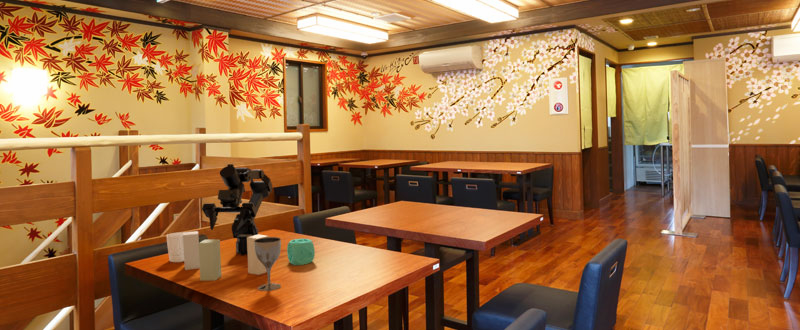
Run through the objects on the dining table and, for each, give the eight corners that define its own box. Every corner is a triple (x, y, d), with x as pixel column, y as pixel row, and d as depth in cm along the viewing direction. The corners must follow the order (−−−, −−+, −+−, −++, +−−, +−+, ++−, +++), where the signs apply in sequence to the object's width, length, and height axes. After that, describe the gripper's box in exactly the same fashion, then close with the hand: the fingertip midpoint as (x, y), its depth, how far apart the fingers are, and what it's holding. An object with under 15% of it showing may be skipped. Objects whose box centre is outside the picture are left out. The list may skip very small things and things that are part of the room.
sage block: (206, 275, 169) (205, 239, 168) (221, 275, 169) (219, 239, 168) (200, 280, 164) (198, 243, 163) (215, 280, 164) (213, 242, 163)
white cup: (181, 263, 186) (180, 236, 185) (163, 262, 187) (161, 236, 187) (194, 257, 194) (193, 232, 193) (176, 257, 195) (175, 231, 194)
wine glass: (258, 283, 160) (256, 237, 158) (284, 282, 160) (282, 236, 159) (253, 291, 152) (251, 243, 150) (280, 290, 152) (278, 242, 151)
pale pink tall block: (199, 264, 183) (198, 231, 182) (200, 268, 179) (198, 233, 178) (184, 266, 181) (183, 232, 180) (184, 269, 177) (183, 235, 176)
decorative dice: (315, 263, 183) (314, 241, 182) (293, 266, 179) (293, 244, 178) (308, 258, 190) (307, 237, 189) (287, 261, 186) (286, 240, 185)
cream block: (259, 269, 176) (258, 234, 175) (269, 271, 173) (268, 235, 172) (248, 272, 172) (246, 237, 171) (258, 275, 169) (257, 238, 168)
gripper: (202, 181, 183) (190, 216, 173) (253, 180, 182) (243, 216, 172) (212, 199, 191) (201, 234, 181) (260, 199, 191) (252, 233, 180)
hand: (224, 229), depth 178 cm, fingers open, 9 cm apart
